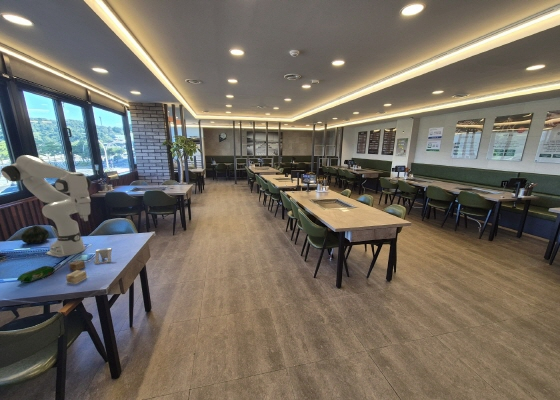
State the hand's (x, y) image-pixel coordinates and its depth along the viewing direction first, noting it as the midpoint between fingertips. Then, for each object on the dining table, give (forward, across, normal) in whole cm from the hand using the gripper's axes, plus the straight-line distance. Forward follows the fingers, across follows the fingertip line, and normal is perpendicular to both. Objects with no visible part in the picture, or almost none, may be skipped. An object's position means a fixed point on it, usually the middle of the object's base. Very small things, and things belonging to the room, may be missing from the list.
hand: (84, 219), depth 144 cm
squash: (+30, -77, -18) cm, 85 cm away
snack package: (+31, -2, -25) cm, 40 cm away
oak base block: (+30, +20, -11) cm, 37 cm away
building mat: (+31, +17, -11) cm, 37 cm away
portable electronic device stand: (+31, +3, +6) cm, 32 cm away
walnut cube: (+31, +4, -8) cm, 32 cm away
